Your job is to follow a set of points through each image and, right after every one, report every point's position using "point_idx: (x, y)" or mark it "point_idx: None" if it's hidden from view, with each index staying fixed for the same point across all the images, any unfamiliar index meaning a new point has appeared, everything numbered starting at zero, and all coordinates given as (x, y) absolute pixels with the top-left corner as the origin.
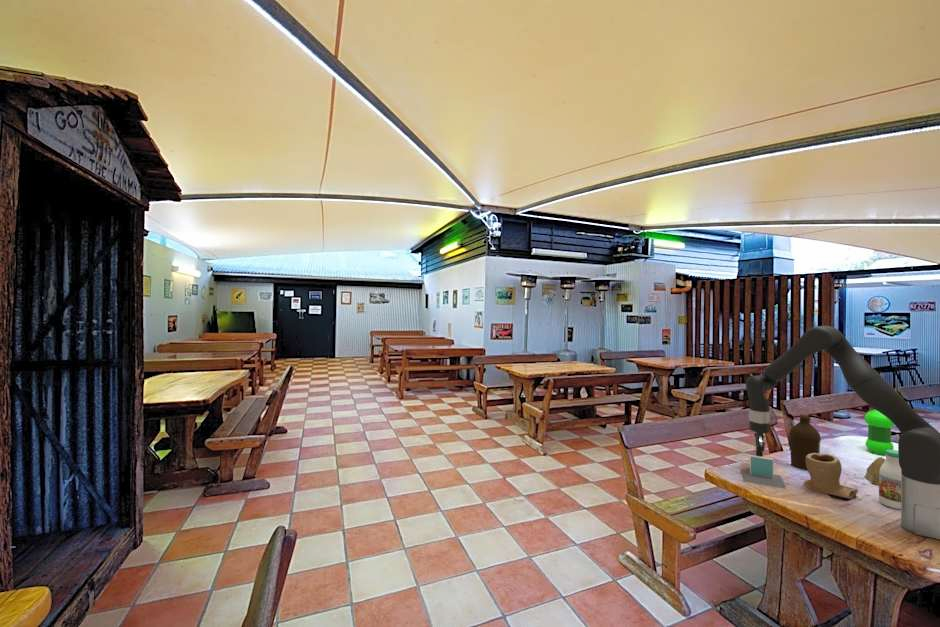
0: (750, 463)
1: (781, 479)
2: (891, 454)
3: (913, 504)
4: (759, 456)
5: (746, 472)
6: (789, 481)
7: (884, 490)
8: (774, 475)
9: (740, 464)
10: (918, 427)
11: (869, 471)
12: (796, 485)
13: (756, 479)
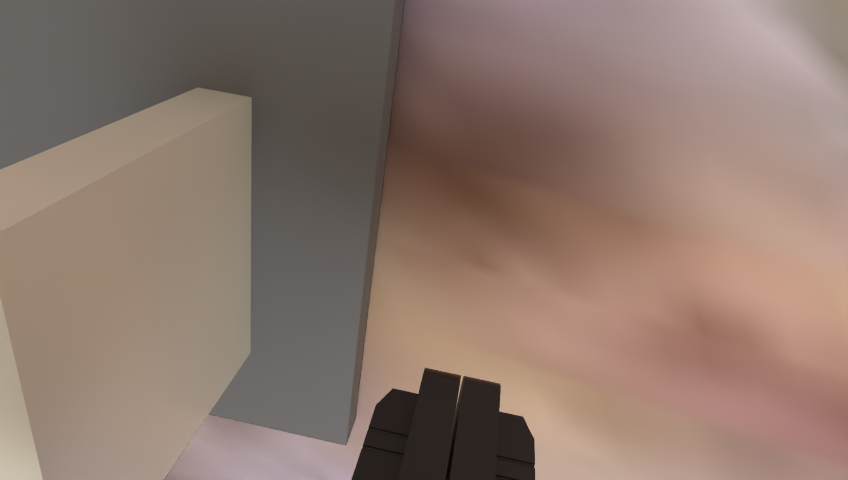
0: (69, 151)
1: (218, 410)
2: None
3: None
4: (15, 431)
5: (246, 48)
6: (305, 463)
7: None
8: (317, 388)
9: (789, 77)
10: None
11: None
12: (225, 476)
13: (26, 121)
